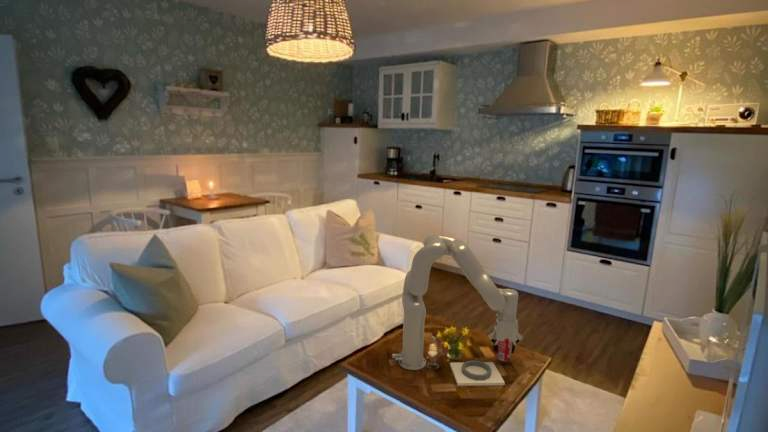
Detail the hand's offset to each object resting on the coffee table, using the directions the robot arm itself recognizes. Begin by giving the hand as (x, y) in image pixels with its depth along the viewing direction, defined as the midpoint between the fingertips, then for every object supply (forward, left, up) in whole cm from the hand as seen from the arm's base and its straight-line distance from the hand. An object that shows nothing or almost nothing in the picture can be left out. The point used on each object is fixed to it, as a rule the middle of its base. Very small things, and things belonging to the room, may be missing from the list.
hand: (503, 351), depth 188 cm
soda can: (0, 0, -4) cm, 4 cm away
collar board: (-15, -10, -5) cm, 19 cm away
